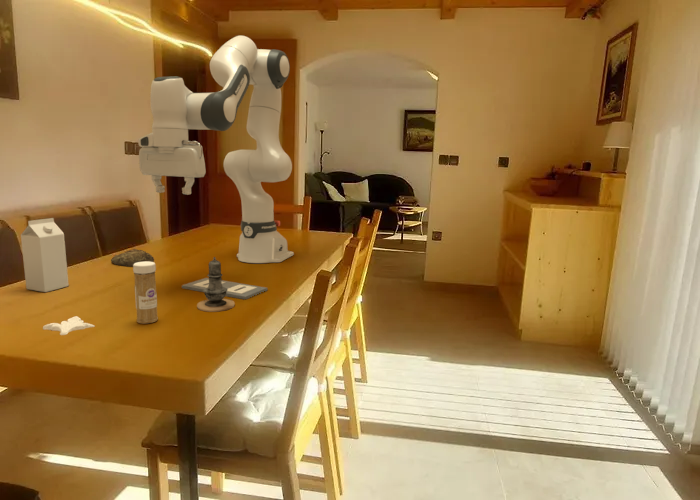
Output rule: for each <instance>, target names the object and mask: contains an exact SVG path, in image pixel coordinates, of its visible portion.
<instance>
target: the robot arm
mask: <svg viewBox="0 0 700 500" xmlns="http://www.w3.org/2000/svg"><path fill="white" fill-rule="evenodd" d="M290 69H291V65H290V60H289V57H288V55H287V54H286V52H284V51H282V50H280V49H264V48H263V49H262V48H260V49H259V48H258V47H257V44H256V43H255V42H254V41H253V40H252V39H251V38H250V37H248V36H245V35H235V36H234V37H232V38H231V39H229V40H228V41H226V42H225V43H224V44H222V45H221V46H220V47H219V49H217V51H215V53H214V54H213V55H212V57H211V59H210V61H209V71H210V74H211V77H212V79H214V81H215V82H216V83H217V84H218V85H219V86H220V87H222V90H220V91H219V90H218V91H215V92H193V91H191V90H190V89H189V88H188V87H187V86H186V85H185V81H184V79H183V77H181V76H177V75H176V76H158V77H155V78H154V79H152V81H151V84H150V85H151V86H150V96H149V97H150V112H151V115H152V124H151V125H152V126H151V132H150V133H148V134H146V135H144V136H142V137H140V138H138V141H137V142H138V147H140V149H139V152H138V160H139V161H138V164H139V170H140V172H141V174H142V175H143V176H145V175H146V176H151V180H152V182H153V184H154V186H155V192H156V193H159V194H161V193H165V192H166V190H165V185H163V184H162V181H161V180H162V177H181V178H182V177H183V179H184V182H185V185H184V186H183V187H181V191H182V192H181V193H182V195H187V196H188V195H191V194H192V187H193V185H194V184H195V178H204V177H205V175H206V172H207V171H206V162H205V157H204V151H203V146H202V145H201V144H200V142H198V141H196V140H192V141H191V140H189V130H201V131H202V130H203V131H204V130H211V131H219V132H224V131H227V130H229V129H230V128H231V127H232V126H233V124H234V123H235V120H236V118H237V113H238V109H239V107H240V106H241V104H242V101H243V99H244V97H245V95H246V94H247V91H248V89H249V86H250V85H252V86H253V89H252V93H251V97H250V100H249V107H248V114H247V120H246V132H247V134H248V135H249V136H250V137H251V138H252V139H253V140H255V142H256V149H237V150H233V151H229V152H228V153H227V154H226V155H225V158H224V159H223V170H224V172H225V175H226V176H227V177H229V179H231V180H232V182H233V183H234V185H235V186H236V189H237V191H238V193H239V197H240V200H241V215H242V216H241V221H240V231H241V233H240V235H239V244H238V253H237V254H236V258H237V259H238V261H239V262H242V263H248V264H268V263H281V262H283V261H285V260H286V259H289V258H291V257H292V256H294V255H295V253H294V251H290V250H288V240H287V239H286V237H284V235H282V234H281V233H280V232H279V231H277V227H280V226H281V221H280V220H275V218H274V217H275V216H274V208H275V207H274V206H275V204H274V199H273V197H272V196H271V195H270V194H269V193H268V192H266V191H265V190H264V188H263V186H262V182H263V183H278V182H279V183H280V182H283V181H286V180H288V178H289V177H290V176H291V173H292V170H293V162H292V159H291V157H290V156H289V154H288V153H286V152H285V150H284V149H283V147H282V144H281V142H280V137H279V136H280V135H279V134H280V121H281V114H282V91H281V90H282V89H281V88H283V86H284V84H285V82H287V80H288V78H289V75H290V72H291V70H290Z"/></svg>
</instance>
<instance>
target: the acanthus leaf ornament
mask: <svg viewBox="0 0 700 500" xmlns="http://www.w3.org/2000/svg"><path fill="white" fill-rule="evenodd" d="M94 327H95V325H94V324H92V323H88V322H84V320H82V318H80V317H79V316H77V315H76V316H73V317H70V318H68V319H67V320H63V321H61V322H60V323H58V322H52V323H51V322H50V323H47V324H45V325H43V327H42V330H48V331H52V332H53V331H55V332H59V335H60V336H65V335H68V333H70V332H73V331H79V330H85V329H89V328H94Z"/></svg>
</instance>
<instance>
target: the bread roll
mask: <svg viewBox="0 0 700 500" xmlns="http://www.w3.org/2000/svg"><path fill="white" fill-rule="evenodd" d="M154 260H155V258H154V256H153V255H151V254H150V253H148V252H147V251H144V250H142V249H137V248H133V249H129V250H127V251H124V252H122V253H119V254H115V255H114V256H112V258H111V259H110V262H111V263H112V264H113V263H114V265H116V266H120V265H121V267H130V268H133V264H134V263H137V262H145V261H149V262H155V261H154Z"/></svg>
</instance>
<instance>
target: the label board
mask: <svg viewBox="0 0 700 500" xmlns="http://www.w3.org/2000/svg"><path fill="white" fill-rule="evenodd" d="M221 281H222V286H223V287H225V288H227V289H228V290H227V291H226V296H225V297H229V298H234V299H240V300H245V299H246V300H248V299H251V298H252V296H253V297H255V296H257V294H258V295H260V294H262V293H261V292H263V293H264V291H265V292H267V291H268V287H265V286H259V285H252V284H246V283H240V282H235V281H230V280H229V281H228V280H223V279H221ZM208 286H209V277H204V278H201V279H197V280H195V281H191V282H188V283H184V284H181V289H186V290H191V291H197V292H200V293H201V292H202V293H204V292H203V290H204V289H205V288H208ZM259 293H260V294H259ZM254 295H255V296H254ZM250 297H251V298H250Z"/></svg>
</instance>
